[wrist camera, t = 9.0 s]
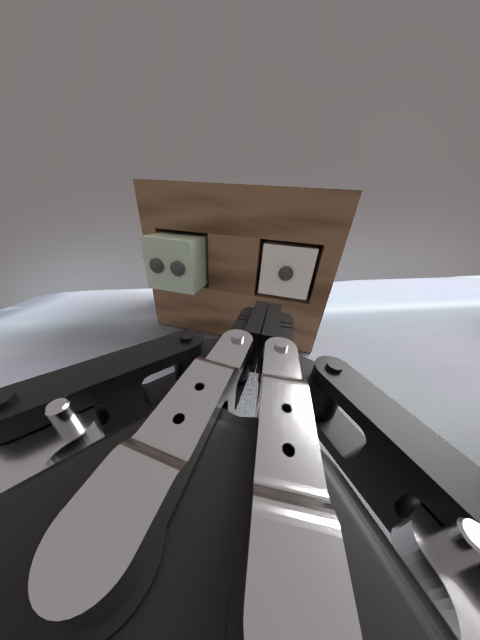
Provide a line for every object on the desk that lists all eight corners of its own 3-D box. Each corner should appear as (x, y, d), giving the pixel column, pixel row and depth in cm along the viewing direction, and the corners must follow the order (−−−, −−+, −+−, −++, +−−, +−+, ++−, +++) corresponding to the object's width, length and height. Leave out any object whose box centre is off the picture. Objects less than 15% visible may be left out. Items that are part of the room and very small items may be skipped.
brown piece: (310, 353, 23) (362, 190, 15) (158, 323, 27) (132, 178, 18) (306, 314, 31) (338, 196, 23) (191, 295, 35) (184, 188, 27)
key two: (192, 296, 19) (188, 242, 17) (147, 288, 20) (137, 236, 18) (213, 278, 24) (212, 234, 21) (176, 273, 25) (171, 230, 22)
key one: (306, 301, 20) (319, 249, 17) (257, 293, 21) (263, 244, 18) (304, 283, 25) (314, 240, 22) (264, 277, 25) (270, 236, 23)
